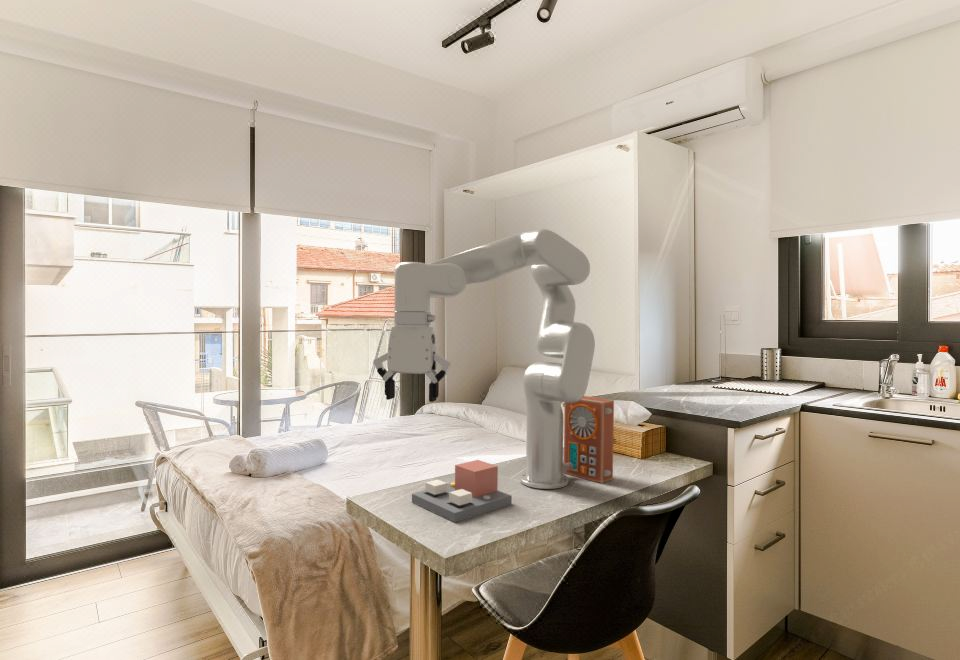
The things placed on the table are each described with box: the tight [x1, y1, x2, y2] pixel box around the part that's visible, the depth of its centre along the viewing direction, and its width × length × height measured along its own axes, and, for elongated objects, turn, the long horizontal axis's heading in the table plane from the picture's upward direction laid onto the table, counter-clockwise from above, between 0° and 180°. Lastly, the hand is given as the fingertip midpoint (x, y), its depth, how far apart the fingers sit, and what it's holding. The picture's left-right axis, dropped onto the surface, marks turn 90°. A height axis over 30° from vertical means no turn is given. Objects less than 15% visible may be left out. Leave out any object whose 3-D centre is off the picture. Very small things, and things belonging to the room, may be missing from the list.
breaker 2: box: [449, 489, 472, 506], centre depth 121 cm, size 4×4×2 cm
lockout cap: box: [454, 459, 499, 498], centre depth 130 cm, size 7×7×6 cm
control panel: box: [562, 395, 615, 484], centre depth 148 cm, size 21×7×15 cm
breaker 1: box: [425, 479, 448, 495], centre depth 128 cm, size 4×4×2 cm
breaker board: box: [411, 482, 513, 523], centre depth 127 cm, size 17×16×3 cm
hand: (411, 399), depth 117 cm, fingers open, 9 cm apart
